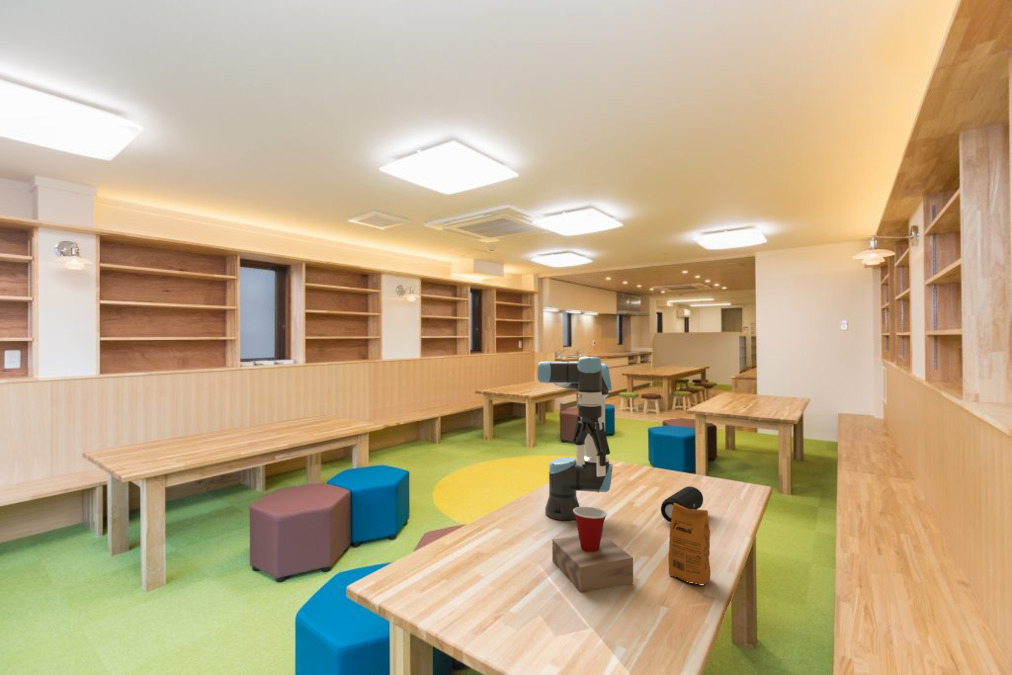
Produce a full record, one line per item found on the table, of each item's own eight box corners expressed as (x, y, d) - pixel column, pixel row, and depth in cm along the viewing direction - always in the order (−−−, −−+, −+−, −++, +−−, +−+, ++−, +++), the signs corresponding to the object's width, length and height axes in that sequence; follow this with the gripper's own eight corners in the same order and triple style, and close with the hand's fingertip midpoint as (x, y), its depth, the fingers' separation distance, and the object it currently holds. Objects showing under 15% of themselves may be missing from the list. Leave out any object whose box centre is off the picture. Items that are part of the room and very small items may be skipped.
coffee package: (675, 564, 152) (675, 497, 152) (714, 576, 143) (714, 506, 143) (663, 575, 144) (662, 505, 144) (703, 589, 136) (702, 515, 136)
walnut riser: (552, 563, 153) (552, 539, 153) (599, 555, 158) (599, 531, 158) (580, 594, 134) (580, 567, 134) (633, 583, 139) (632, 557, 139)
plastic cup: (613, 547, 147) (613, 509, 147) (596, 559, 139) (596, 519, 139) (584, 537, 154) (584, 502, 154) (566, 548, 146) (566, 511, 146)
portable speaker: (682, 528, 181) (682, 502, 181) (658, 521, 188) (658, 497, 188) (705, 510, 200) (705, 487, 200) (682, 505, 207) (682, 483, 207)
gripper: (562, 400, 158) (563, 461, 158) (599, 410, 135) (599, 482, 135) (582, 399, 161) (582, 459, 161) (621, 409, 137) (621, 479, 137)
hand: (590, 470), depth 148 cm, fingers open, 13 cm apart
